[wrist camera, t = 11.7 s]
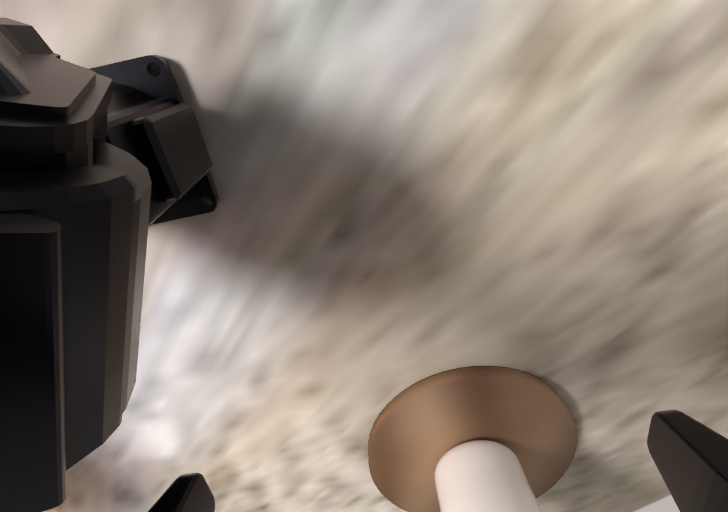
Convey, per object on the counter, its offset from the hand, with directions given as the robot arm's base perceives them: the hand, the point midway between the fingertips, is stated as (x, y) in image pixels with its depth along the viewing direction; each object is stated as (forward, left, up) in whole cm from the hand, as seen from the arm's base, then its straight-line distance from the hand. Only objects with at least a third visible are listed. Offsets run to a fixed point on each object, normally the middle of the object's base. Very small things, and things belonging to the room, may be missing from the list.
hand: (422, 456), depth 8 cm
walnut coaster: (+3, -17, -13) cm, 21 cm away
